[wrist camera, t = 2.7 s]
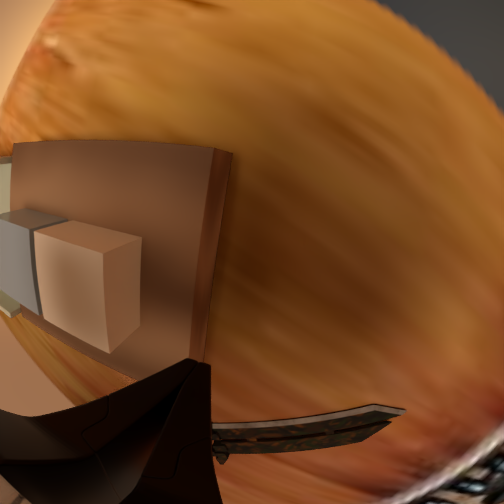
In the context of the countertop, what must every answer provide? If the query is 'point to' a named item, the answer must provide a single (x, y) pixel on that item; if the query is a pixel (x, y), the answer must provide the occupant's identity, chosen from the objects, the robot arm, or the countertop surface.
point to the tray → (4, 302)
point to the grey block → (22, 255)
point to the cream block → (89, 281)
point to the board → (137, 232)
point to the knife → (300, 432)
